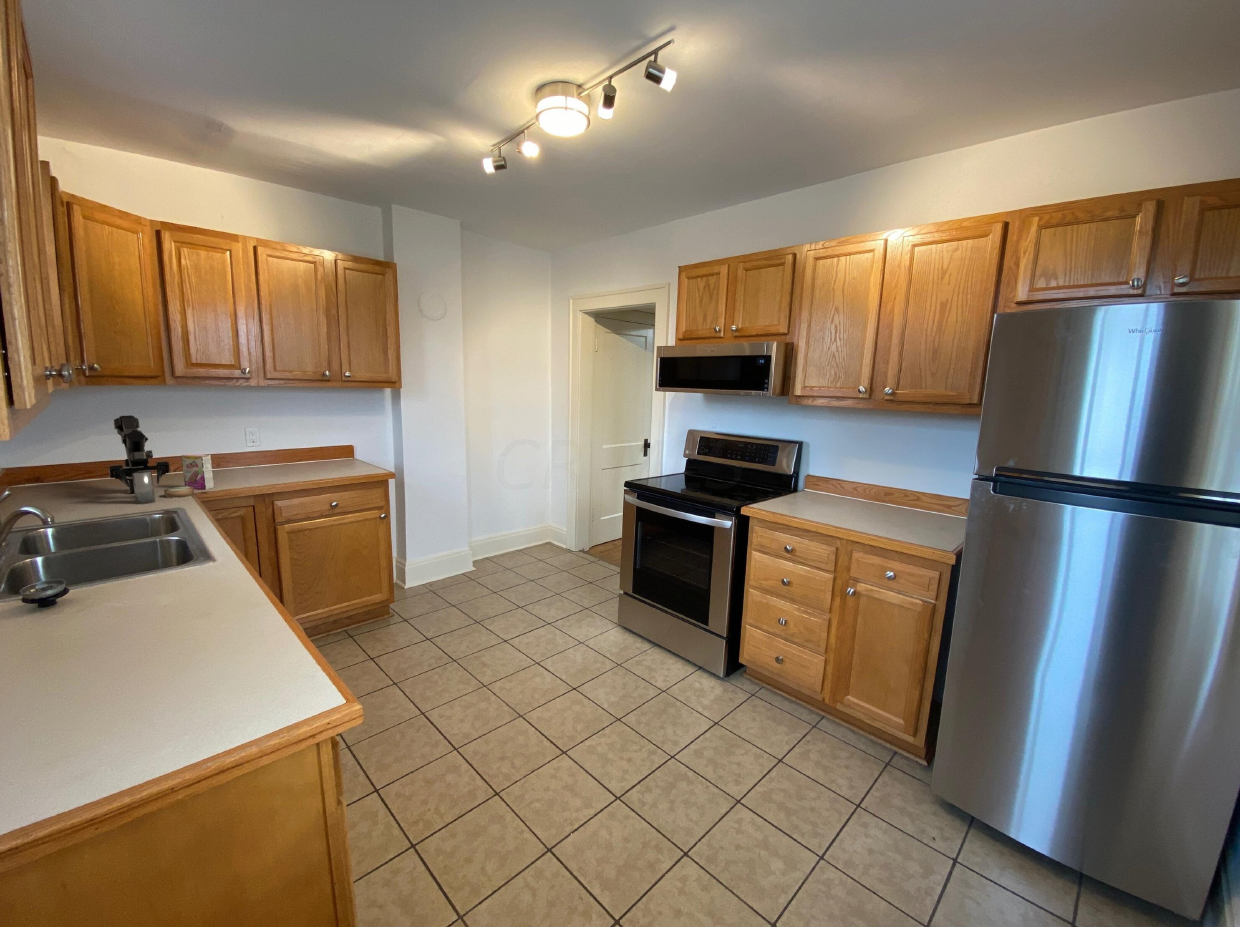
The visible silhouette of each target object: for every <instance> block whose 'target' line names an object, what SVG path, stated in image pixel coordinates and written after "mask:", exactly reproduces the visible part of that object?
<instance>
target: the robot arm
mask: <svg viewBox="0 0 1240 927" xmlns="http://www.w3.org/2000/svg"><path fill="white" fill-rule="evenodd" d="M139 421H140V420H139V418H137V417H135V415H132V414H131V415H119V417H117V418H113V428H114V430H116V434H118V435H119V436H120V440H121V444H122V445H124V446H123V447H124V449H125V454H126V459H125V460H124V466H123V465H122V464H112V465H110V466H108V473H109V477H110V479H115V480H119V481H120V482H122V483H123V484H124V485H125V487H127V488H129V491H128V492H127V494H128V495H131V494H132V495H135V491H134V484H133V476H132V473H134V472H143V471H151V472H153V471H156V483H157V485H159V484H160V481H161V478H162V477H163V476H164V475H165V476H166V474H169V473H170V462H168V461H166V460H165V461H163V460H162V461H156V464H155V465H149V464H150V463H149V462H150V461H149V459H153V458H154V454H153V451H152V449H151V450H146V448H145V446H146V443H147V442H148V441H149V438H148V437H147V436H146V435H145V434H144V433H143V432H142V430H139V429H140V422H139Z"/></svg>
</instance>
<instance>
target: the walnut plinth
mask: <svg viewBox="0 0 1240 927" xmlns="http://www.w3.org/2000/svg"><path fill="white" fill-rule="evenodd" d="M194 490H195V489H193V487H185V486H175V487H169V488H165V489H163V492H164V498H166V497H178V498H185V496H186V497H190V496H191V497H192V496H193V495H195V492H194Z"/></svg>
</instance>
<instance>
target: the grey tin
mask: <svg viewBox="0 0 1240 927" xmlns="http://www.w3.org/2000/svg"><path fill="white" fill-rule="evenodd" d="M132 476H133V484H134V491H135V493H134V498H135V504H136V505H148V504H153V503H155V502H156V496H155V489H154V480H153V471H143V472H134V473H132ZM152 502H153V503H152Z"/></svg>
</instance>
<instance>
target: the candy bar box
mask: <svg viewBox="0 0 1240 927" xmlns="http://www.w3.org/2000/svg"><path fill="white" fill-rule="evenodd" d="M180 456H181V464H182V472H183V480H184V487H193V489H194V490H205V489H206V490H211V489H214V488H215V484H214V483H215V482H214V473H213V462H212V455H211V454H199V453H197V454H196V453H188V454H181V455H180ZM210 488H211V489H210Z"/></svg>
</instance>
